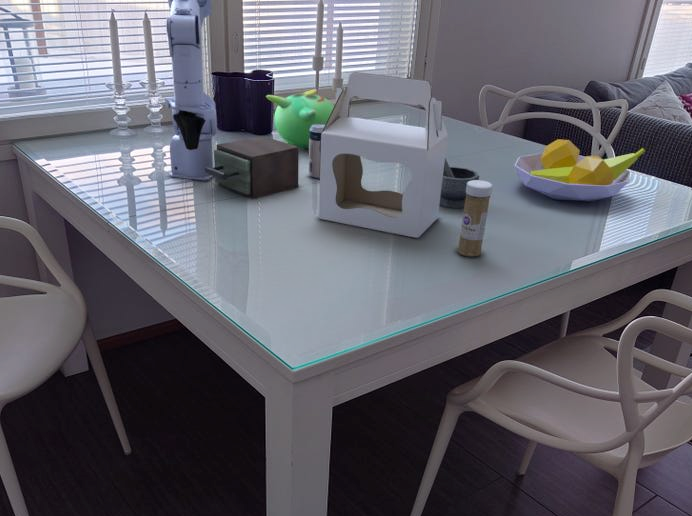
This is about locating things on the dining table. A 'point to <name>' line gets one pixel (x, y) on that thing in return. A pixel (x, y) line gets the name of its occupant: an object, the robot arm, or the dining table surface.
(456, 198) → the mortar and pestle
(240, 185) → the green-fronted drawer
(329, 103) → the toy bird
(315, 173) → the spice jar
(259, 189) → the cabinet
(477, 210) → the sprinkles bottle
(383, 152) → the gable box
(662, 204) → the dining table surface
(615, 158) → the fruit bowl
